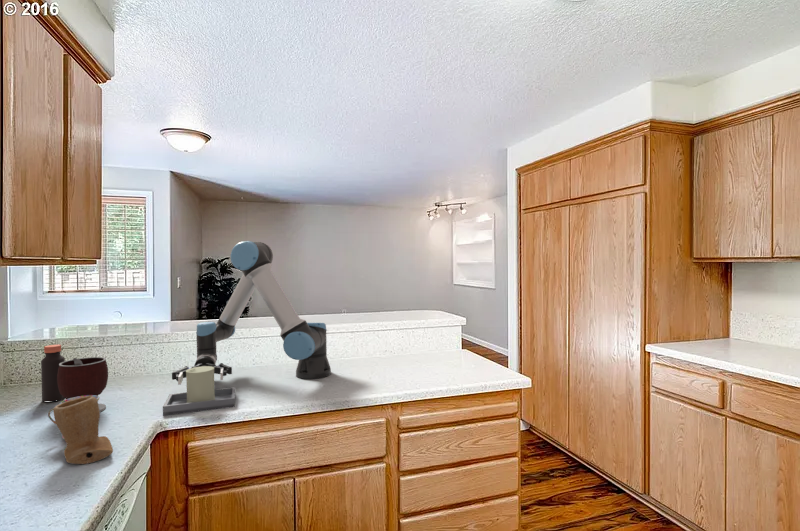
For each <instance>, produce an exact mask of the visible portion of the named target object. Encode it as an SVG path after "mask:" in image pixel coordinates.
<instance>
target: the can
mask: <svg viewBox="0 0 800 531" xmlns="http://www.w3.org/2000/svg"><path fill="white" fill-rule="evenodd" d="M189 368H190V369H188V370H186V380H185V381H186V392H187V403H191V402H199V401H208V400H215V391H214V389H215V374H214V367H212V366H201V367H194V368H191V367H189Z"/></svg>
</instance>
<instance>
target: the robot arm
mask: <svg viewBox="0 0 800 531" xmlns="http://www.w3.org/2000/svg"><path fill="white" fill-rule="evenodd" d="M273 259H274V255H273V251H272V249H271V247H270V246H269V245H268V244H267V243H264V242H261V241H251V240H245V241H244V240H242V241H240V242H238V243H236V244H235V245H234V246H233V247H232V249H231V253H230V261H231V264H232V266H233V267H234V268H236V270H239V271H241V272H242V276H241V277H240V279H239V282H238V283H237V285H236V287H235V288H234V290H233V292H232V294H231V296H230V297H229V299H228V301H227V303H226V305H225V307H224V309H223V311H222V313H221V314H220V316H219V318H218V320H217V322H214V321H204V322H199V323H197V325H196V332H195V333H196V334H195V336H196V360H195V361H194V362H195V363H194V365H192V366H191V367H189V366H188V365H185V366H184V367H182V368H179V369H177V370H175V371H173V372H171V380H172V381H173V380H176V382H177V383H178V384H177V385H182V383H183V381H184V379H185V378H186V370H188V369H190V368H194V367H201V366H212V367H214V375H220V376H219V378H220V381H223V380H224V377H226V376H228V375H233V368H232V366H229V365H227V364H224V363H222V362H220V363H219V364H218V365H217V364H216V363H217V361H218V354H217V342H219V341H224V340H227V339H229V338H231V337H232V336H234V334H235V332H236V324H237V323H238V321H239V319H240V317H241V315H242V313H243V312H244V310H245V308H246V306H247V305H248V303H249V301H250V299H251V297H252V295H253V294H254V292H255V290H257V291H258V293H259V295H260V296H261V298H262V300H263V301H264V303H265V304H266V306H267V308H268V310H269V312H270V313H271V315H272V316H273V318H274V319H275V321H276V324H277V325H278V327H279V328H280V334H279V335H280V337H281V339H282V341H283V344H282V348H283V351H284V353H285V354H286V356H288V357H289V358H290V359H293V360H297V361H298V363H297V365H296V369H295V376H296V377H297V378H299V379H304V380H313V379H314V380H315V379H322V378H325V377H328V376H330V375H331V374H332V368H331V365H330V362H329V359H328V357H327V356H328V354H327V331H328V330H327V324H326V323H325V322H307V320H306V319H302V318H300V316H299V315H298V312H296V310H295V308H294V306H293V304H292V303H291V301H290V300H289V298H288V297H287V296H288V295H287V294H286V293H285V291H284V289H283V288H282V286H281V284H280V283H279V281H278V280H277V277H275V274H274V273H273V271H272V265H273V264H272V263H273ZM227 374H228V375H227Z"/></svg>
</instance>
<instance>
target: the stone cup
mask: <svg viewBox="0 0 800 531" xmlns="http://www.w3.org/2000/svg"><path fill="white" fill-rule="evenodd" d="M60 403H61V402H60ZM60 403H59V404H57V405H55V406H54V407H53V408H54V410H52V411H53V417H54V421H55V422H56V424H55V425H56V426H57V428H58V429H59V432H60V433H61V436H62V435H63V437H64V439H63V440H64V441H65V444H66V447H65V449H64V451H63V454H64V457H65V461H66V462H67V463H68V464H76V465H87V464H91V463H95V462H98V461H101V460H103V459H106V458H107V457H109V456H111V455H112V454H113V452H114V450H113V446H112V443H111V441H110V439H109V438H108V437H107V436H99V425H100V424H99V422H100V416H101V414H100V413H101V412H99V406H98V404H99V400H98V401H97V399H96V398H95V397H93V396H85V397H81V398H77V399H74V400H70V401H67V402H64V403H61V404H60Z"/></svg>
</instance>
